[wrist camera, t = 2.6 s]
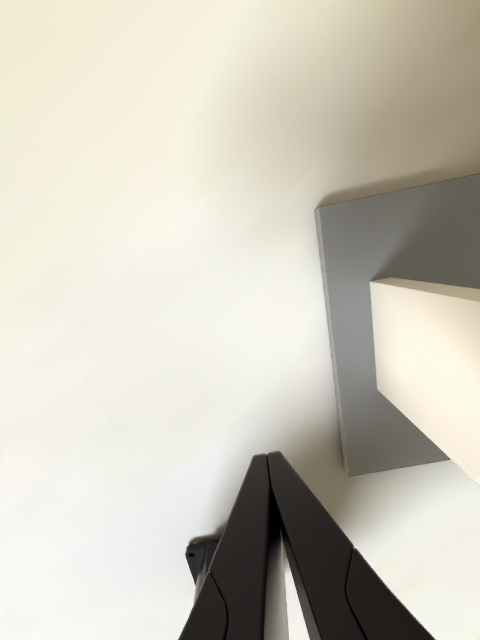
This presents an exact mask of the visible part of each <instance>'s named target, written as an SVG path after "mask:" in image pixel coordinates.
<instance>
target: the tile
mask: <svg viewBox="0 0 480 640" xmlns="http://www.w3.org/2000/svg"><path fill="white" fill-rule="evenodd" d="M370 292H371V307H372V321H373V336H374V350H375V364H376V379H377V390H379V391H380V392H381V393H382V394H383V395H384V396H385V397H386V398H387V399H388V400H389V401H390V402H391V403H392V404H393V405H394V406H395V407H396V408H398V409H399V410H400V411H401V412H402V413H403V414H404V415H405V416H406V417H407V418H408V419H409V420H410V421H411V422H412V423H413V424H414V425H415V426H417V427H418V428H419V429H420V430H421V431H422V432H423V433H424V434H425V435H426V436H427V437H428V438H429V439H430V440H431V441H432V442H433V443H434V444H436V445H437V446H438V447H439V448H440V449H441V450H442V451H443V452H444V453H445V454H446V455H447V456H448V457H449V458H450V459H451V460H452V461H453V462H455V463H456V464H457V465H458V466H459V467H460V468H461V469H462V470H463V471H464V472H465V473H466V474H467V475H468V476H469V477H470V478H471V479H473V480H474V481H475V482H476V483H477V484H478V485H479V486H480V289H474V288H466V287H459V286H451V285H444V284H436V283H429V282H421V281H414V280H406V279H399V278H391V277H390V278H385V279H380V280H375V281H370Z"/></svg>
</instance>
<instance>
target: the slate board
mask: <svg viewBox="0 0 480 640" xmlns="http://www.w3.org/2000/svg"><path fill="white" fill-rule="evenodd" d="M315 218H316V226H317V235H318V244H319V252H320V261H321V270H322V278H323V287H324V296H325V305H326V313H327V322H328V331H329V339H330V348H331V357H332V365H333V374H334V383H335V391H336V400H337V409H338V418H339V426H340V435H341V444H342V452H343V461H344V468H345V470H346V472H347V474H348V476H355V475H361V474H367V473H373V472H379V471H385V470H391V469H397V468H403V467H409V466H415V465H421V464H427V463H433V462H439V461H445V460H451V459H450V458H449V457H448V456H447V455H446V454H445V453H444V452H443V451H442V450H441V449H440V448H439V447H438V446H437V445H436V444H434V443H433V442H432V441H431V440H430V439H429V438H428V437H427V436H426V435H425V434H424V433H423V432H422V431H421V430H420V429H419V428H418V427H417V426H415V425H414V424H413V423H412V422H411V421H410V420H409V419H408V418H407V417H406V416H405V415H404V414H403V413H402V412H401V411H400V410H399V409H398V408H396V407H395V406H394V405H393V404H392V403H391V402H390V401H389V400H388V399H387V398H386V397H385V396H384V395H383V394H382V393H381V392H380V391H379V390H377V379H376V364H375V350H374V336H373V321H372V307H371V292H370V281H375V280H380V279H385V278H390V277H391V278H399V279H406V280H414V281H421V282H429V283H436V284H444V285H451V286H459V287H466V288H474V289H480V174H476V175H471V176H466V177H461V178H457V179H452V180H447V181H442V182H437V183H433V184H428V185H423V186H418V187H413V188H409V189H404V190H399V191H394V192H389V193H385V194H380V195H375V196H370V197H365V198H361V199H356V200H351V201H346V202H341V203H337V204H332V205H327V206H322V207H318V208H317V209H315Z"/></svg>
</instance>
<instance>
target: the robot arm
mask: <svg viewBox="0 0 480 640" xmlns="http://www.w3.org/2000/svg"><path fill="white" fill-rule="evenodd" d="M280 529H281V530H280ZM281 534H282V537H281ZM282 539H283V543H284V547H285V551H286V554H287V558H288V562H289V565H290V569H291V572H292V576H293V580H294V583H295V587H296V591H297V594H298V598H299V602H300V605H301V609H302V612H303V616H304V620H305V623H306V627H307V631H308V634H309V638H310V640H436V639H435V638H434V637H433V636H432V635H431V634H430V633H429V632H428V631H427V630H426V629H425V628H424V627H423V626H422V625H421V624H420V622H419V621H418V620H417V619H416V618H415V617H414V616H413V615H412V614H411V613H410V612H409V610H408V609H407V608H406V607H405V606H404V605H403V604H402V603H401V602H400V600H399V599H398V598H397V597H396V596H395V595H394V594H393V593H392V592H391V590H390V589H389V588H388V587H387V586H386V585H385V583H384V582H383V581H382V580H381V578H380V577H379V576H378V575H377V574H376V572H375V571H374V570H373V569H372V568H371V566H370V565H369V564H368V563H367V561H366V560H365V559H364V558H363V556H362V555H361V554H360V552H359V551H358V550H357V549H356V548H355V549H354V545H353V544H352V543H351V541H350V540H349V539H348V537H347V536H346V535H345V534H344V532H343V531H342V530H341V529H340V527H339V526H338V525H337V523H336V522H335V521H334V520H333V518H332V517H331V516H330V515H329V513H328V512H327V511H326V509H325V508H324V507H323V506H322V504H321V503H320V502H319V501H318V499H317V498H316V497H315V495H314V494H313V493H312V492H311V490H310V489H309V488H308V487H307V485H306V484H305V483H304V481H303V480H302V479H301V478H300V476H299V475H298V474H297V473H296V471H295V470H294V469H293V467H292V466H291V465H290V464H289V462H288V461H287V460H286V459H285V457H284V456H283V455H282V453H281V452H280V451H275V452H269V453H267V455H266V454H265V453H263V454H258V455H254V456H253V458H252V461H251V463H250V466H249V468H248V471H247V473H246V476H245V478H244V481H243V483H242V486H241V488H240V491H239V493H238V496H237V498H236V501H235V503H234V506H233V509H232V511H231V514H230V516H229V519H228V521H227V524H226V526H225V529H224V531H223V534H222V536H221V539H220V540H217V541H211V542H205V543H198V544H192V545H189V546H187V548H186V554H185V555H186V559H187V562H188V565H189V568H190V571H191V574H192V576H193V579H194V582H195V585H196V590H195V598H194V606H193V608H192V610H191V613H190V615H189V618H188V620H187V622H186V624H185V626H184V628H183V631H182V633H181V635H180V637H179V639H178V640H289V632H288V618H287V603H286V589H285V575H284V560H283V547H282Z"/></svg>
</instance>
